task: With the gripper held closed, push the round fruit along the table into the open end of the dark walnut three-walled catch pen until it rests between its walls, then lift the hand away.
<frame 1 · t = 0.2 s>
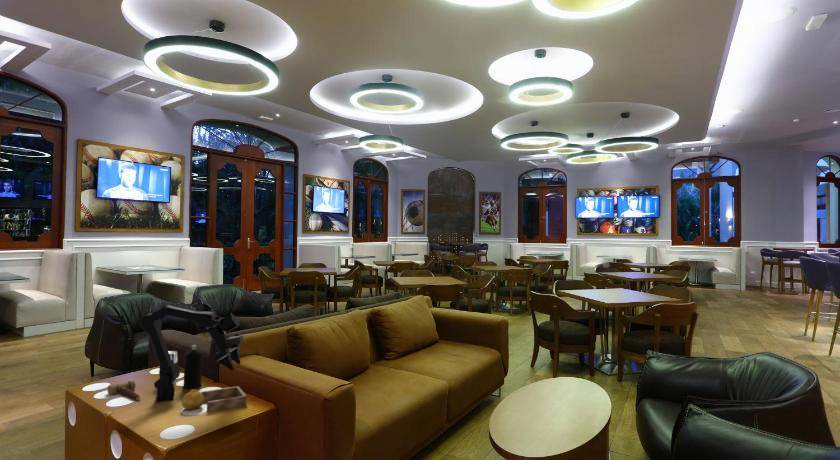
hand: (236, 366, 205), 15 cm above the table, tool tilted 30°, fingers open, 9 cm apart
aerosol can: (192, 387, 219), on the table
beer glass: (168, 383, 224), on the table
gavel: (129, 397, 204), on the table
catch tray: (220, 403, 198), on the table
fruit: (192, 408, 192), on the table
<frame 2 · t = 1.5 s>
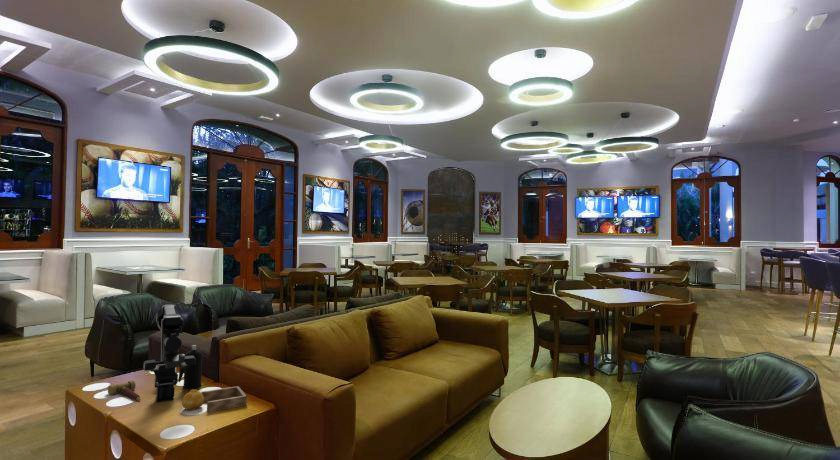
hand: (169, 383, 187), 12 cm above the table, tool pointing down, fingers open, 7 cm apart
nothing on the table moved.
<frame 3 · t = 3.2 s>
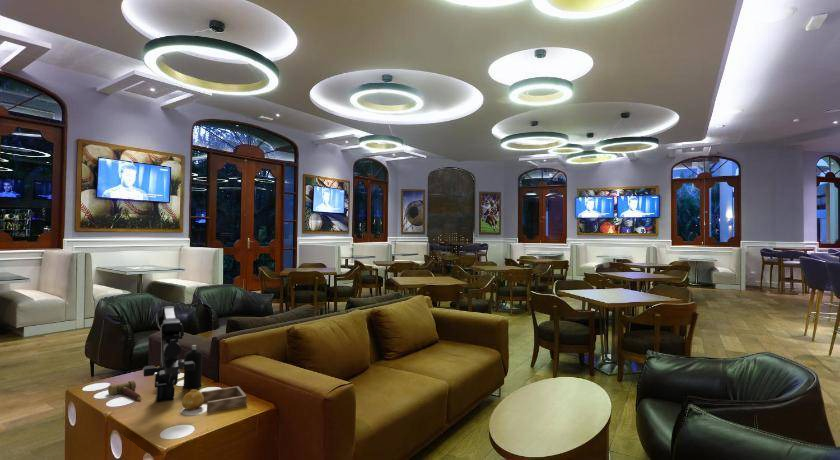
hand: (168, 389, 187), 10 cm above the table, tool pointing down, fingers closed
nothing on the table moved.
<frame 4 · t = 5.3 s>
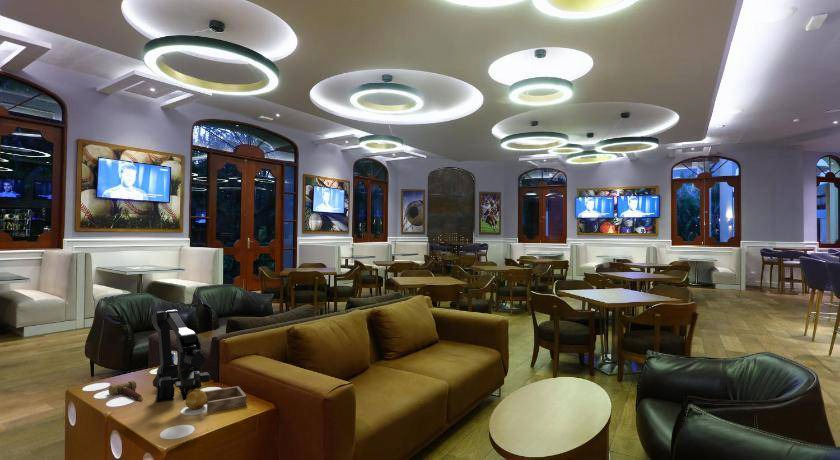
hand: (184, 400, 190), 4 cm above the table, tool pointing down, fingers closed
fruit: (196, 408, 193), on the table, touching gripper
everything else where it was.
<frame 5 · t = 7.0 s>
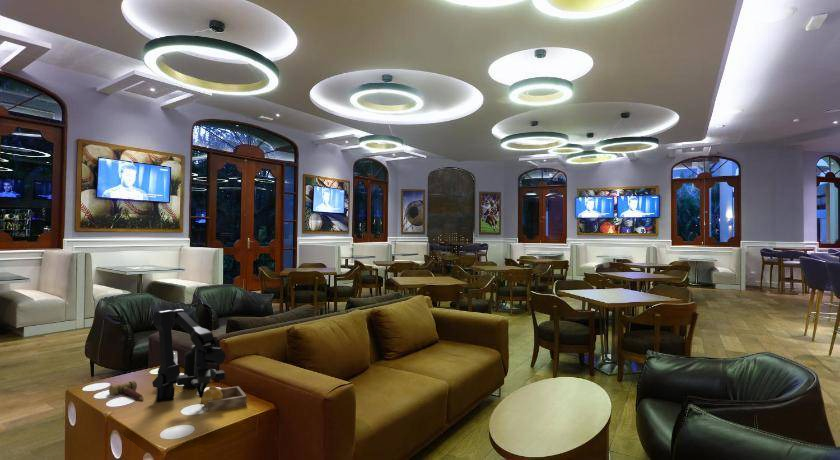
hand: (200, 397, 194), 4 cm above the table, tool pointing down, fingers closed
fruit: (212, 405, 197), on the table, touching gripper
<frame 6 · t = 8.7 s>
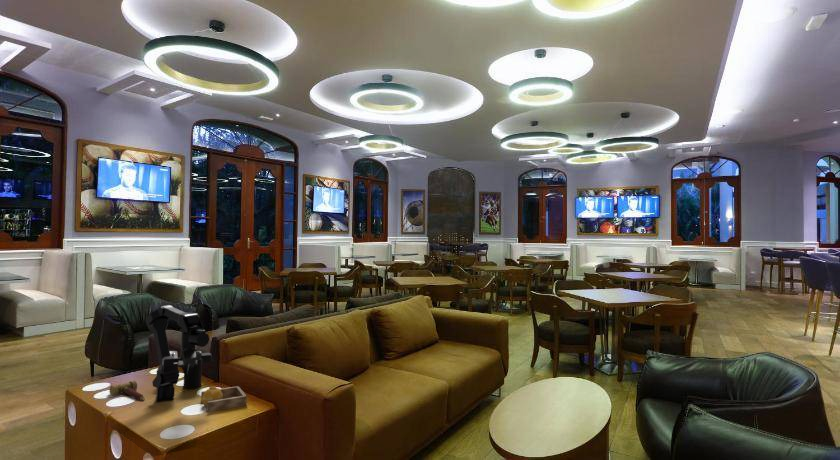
hand: (186, 379, 194), 12 cm above the table, tool pointing down, fingers closed
fruit: (212, 405, 197), on the table
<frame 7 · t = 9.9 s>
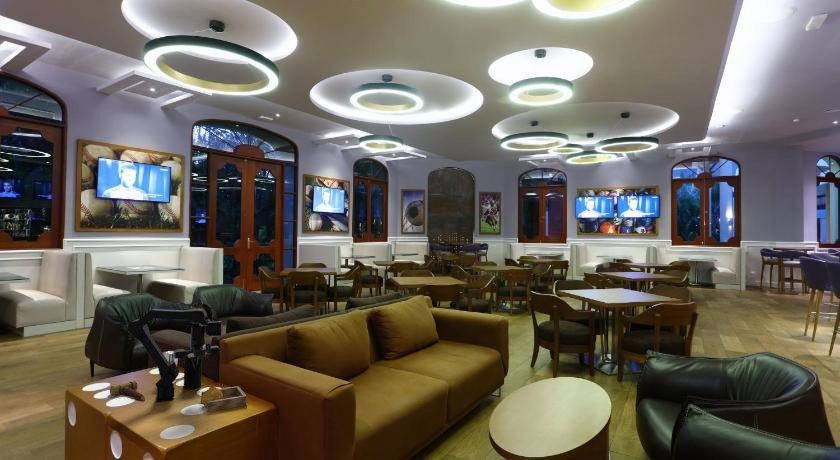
hand: (196, 370, 206), 12 cm above the table, tool pointing down, fingers closed
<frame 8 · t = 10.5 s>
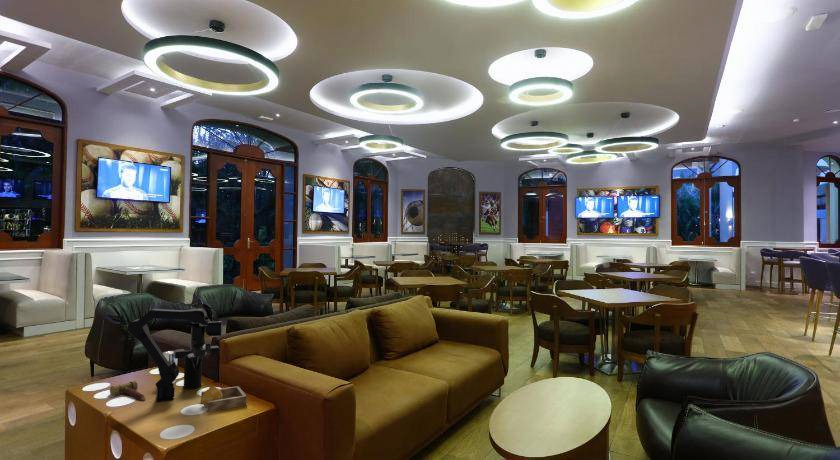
hand: (196, 370, 206), 12 cm above the table, tool pointing down, fingers closed
at the end: fruit inside the target area on the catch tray (4.2 cm from its centre), point 0.0 cm above the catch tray's base; fruit moved 7.6 cm from its start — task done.
